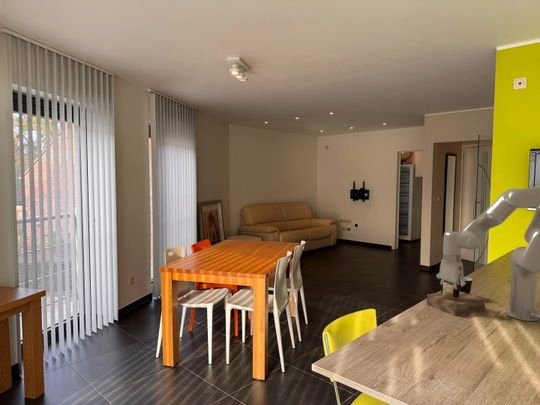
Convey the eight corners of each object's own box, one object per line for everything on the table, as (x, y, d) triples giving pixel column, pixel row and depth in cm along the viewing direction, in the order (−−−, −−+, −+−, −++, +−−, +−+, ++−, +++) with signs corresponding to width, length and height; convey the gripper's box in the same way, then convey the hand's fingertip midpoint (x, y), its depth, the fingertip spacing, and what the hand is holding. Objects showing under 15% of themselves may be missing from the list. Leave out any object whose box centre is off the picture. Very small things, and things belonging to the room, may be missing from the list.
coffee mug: (470, 301, 186) (471, 281, 186) (451, 297, 192) (452, 278, 191) (473, 295, 196) (474, 276, 195) (456, 292, 201) (456, 274, 200)
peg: (459, 308, 174) (461, 284, 173) (450, 310, 171) (451, 286, 170) (448, 304, 180) (449, 281, 179) (438, 305, 177) (439, 282, 176)
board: (484, 309, 174) (485, 299, 174) (454, 315, 166) (455, 305, 165) (455, 299, 188) (455, 289, 188) (426, 304, 180) (427, 294, 180)
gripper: (473, 261, 167) (471, 299, 169) (442, 253, 183) (440, 288, 184) (462, 262, 164) (460, 301, 166) (431, 254, 180) (429, 290, 181)
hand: (449, 294), depth 175 cm, fingers closed on peg, 6 cm apart
